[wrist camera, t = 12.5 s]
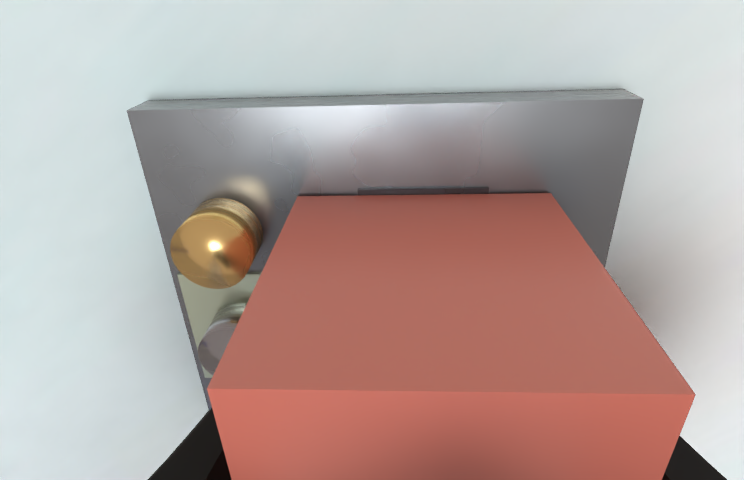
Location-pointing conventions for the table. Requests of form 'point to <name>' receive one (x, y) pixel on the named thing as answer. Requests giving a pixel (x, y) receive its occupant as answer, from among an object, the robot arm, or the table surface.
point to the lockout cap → (442, 350)
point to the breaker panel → (359, 173)
